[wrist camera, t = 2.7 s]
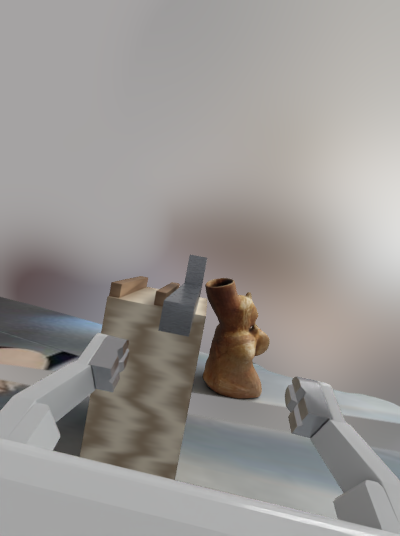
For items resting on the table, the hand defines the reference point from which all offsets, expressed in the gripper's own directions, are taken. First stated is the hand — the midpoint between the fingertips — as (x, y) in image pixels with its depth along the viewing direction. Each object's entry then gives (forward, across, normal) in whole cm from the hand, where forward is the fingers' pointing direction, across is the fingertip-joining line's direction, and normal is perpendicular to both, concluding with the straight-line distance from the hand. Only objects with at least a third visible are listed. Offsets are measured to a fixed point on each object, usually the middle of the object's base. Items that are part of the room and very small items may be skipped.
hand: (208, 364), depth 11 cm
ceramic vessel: (+29, -10, +49) cm, 58 cm away
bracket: (+16, +3, +12) cm, 20 cm away
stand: (+9, +6, +38) cm, 39 cm away
